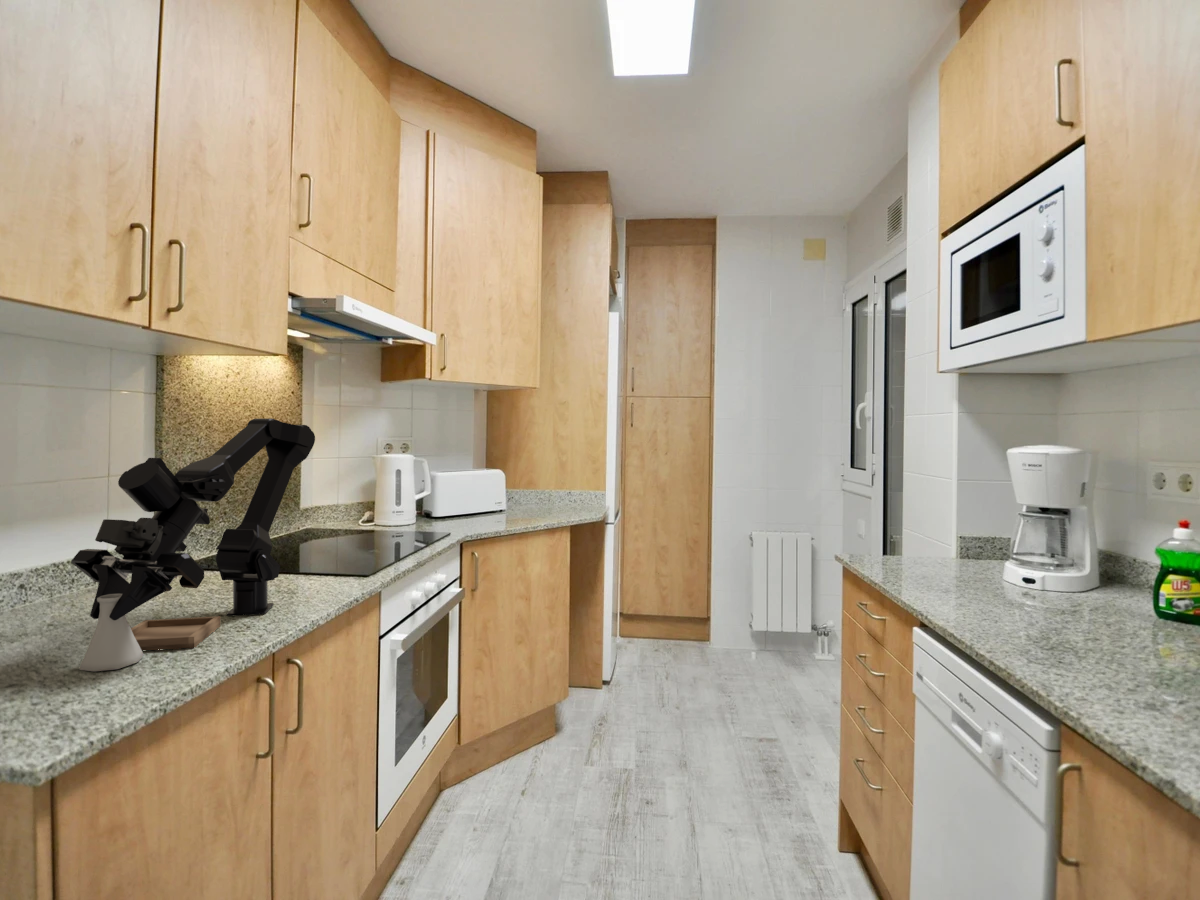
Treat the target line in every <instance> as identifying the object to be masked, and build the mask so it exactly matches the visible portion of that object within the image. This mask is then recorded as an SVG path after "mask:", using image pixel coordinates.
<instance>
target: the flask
mask: <svg viewBox="0 0 1200 900" xmlns="http://www.w3.org/2000/svg"><path fill="white" fill-rule="evenodd" d="M121 596H122V594H120V593H118V594H108V595H103V596H100V597H98V598H97V601H98V602H99V603H100V613H99V618H98V619H97V624H96V626H95V629H94V632H93V634H92V636H91V638H90V641H89V644H88V646H87V649H86V651H85V653H84V656H83V658H82V660H81V662H80V663H79V664H80V665H79V667H78V670H81V671H86V672H87V671H88V672H100V671H101V672H103V671H104V672H105V671H112V670H119V669H121V668H125V667H127V666H131V665H134V664H136V663H139V662H140V661H141V660H142V659H143V658H144V657H145V654H144V651H142V650H141V648H140V646H139V644H138V642H137V640H136V638H135V637H134V635H133V632H132V630H131V628H132V627H131V626H130V624H129V622H128V619H127V614H126V615H124V616H122V617H121V618H119V619H117V620H112V619H111V618H110V617H109V616H110V614H111V612H112V610H113V608H114V606H115V605H116V603H117V602H118V600H119V599H120V597H121Z"/></svg>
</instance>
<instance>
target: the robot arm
mask: <svg viewBox="0 0 1200 900" xmlns="http://www.w3.org/2000/svg"><path fill="white" fill-rule="evenodd" d="M315 441H316V436H315V432H314V431H312V429H311V428H310V426H309V425H307V424H292V423H288V422H283V421H280V420H279V419H275V418H267V417H266V418H265V417H264V418H263V417H262V418H259V417H258V418H257V417H256V418H253V419H251V420H248V422H247V424H246V426H245V427H244V428H242V430H240V431H239V432H238V433H237V434H236V435H234V436H233V437H232V438H231V439H230V440H228V441H227V442H226V443H224V444H223V445H222V446H221V447H219V449H218V450H217V451H215V452H214V453H213V454H211V455H209V456H208V457H206V458H203V459H199V460H197V461H194V462H191V463H189V464H187V465H186V466H184V467H182V468H180V469H179V470H178V471H176V473H175V474H174V473H173V472H172V471H171V470H170V469H169V467H168V466H167V465H166V462H165V461H164V460H163V459H162V458H161V457H148V458H147V459H146V461H145V462H142V463H139V464H136V465H135V466H132V467H131V468H130V469H128V470H126V471H124V472H123V473H122V474H121V475H120V477H119V479H118V483H117V484H118V487H119V488H120V489H121V490H122V491H123V492H124V493H125V494H126V495H128V497H129V498H131V500H133V502H134V503H136V505H138V506H139V508H140V509H141V510H142V511H144V512H145V513H146V512H148V513H153V512H155V513H154V515H153V516H152V517H140V518H138V519H137V521H134V520H127V519H110V518H109V519H103V520H102V523H101V525H100V527H99V530H98V532H97V534H96V537H95V539H94V540H95V541H96V542H99V543H106V544H109V545H113V546H115V548H114V552H116V553H117V554H118V555H121V556H123V557H122V558H119V557H117V556H114V555H113V554H112V553H111V552H110V551H108V549H98V548H97V549H95V548H85V549H80V550H79V551H78V552H77V553H76V554H75V555H74V557H73V558H71V560H70V563H71V564H72V565H73V566H75V567H76V568H77V569H79V570H80V572H82V573H83V574H85V575H86V576H87V577H89V578H90V579H91V580H92V581H93V582H97V583H98V584H97V591H96V593H95V595H94V596H95V597H94V601H93V604H92V607H91V610H90V613H89V617H91V618H92V619H94V620H98V618H99V613H100V603H99V602H98V601H97V598H98V597H100V596H103V595H108V594H118V593H120V594H122V596H121V597H120V599H119V600H118V602H117V603H116V605H115V606H114V608H113V610H112V612H111V614H110V616H109V617H110V618H111V619H112V620H117V619H119V618H121V617H122V616H124V615H126V616H127V614H129V613H130V612H132V611H134V610H135V609H137V608H139V607H140V606H142V605H143V604H145V603H147V602H149V601H150V600H152V599H154V598H156V597H157V596H159V595H162V594H163V593H165V592H170V591H171V590H172V589H173V587H172V585H171V584H172V582H173V581H174V580H175V579H177V578H178V577H180V579H179V580H178V582H179V586H181V588H186V589H187V588H188V589H198V588H199V586H201V583H202V582H203V580H204V579H205V569H204V568H203V567H202V566H201V565H200V564H199V563H198V562H197V561H196V559H194V558H193V557H192V556H191V555H190V554H188V553H186V552H184V551H185V550H186V549H187V548H188V546H187V545H186V544H185V543H184V541H185V539H186V538H187V537H188V536H189V534H190V533H191V531H192V530H193V529H194V527H195V525H210V524H211V523H210V522H211V520H210V519H211V518H210V515H209V514H208V508H207V507H201V505H199V504H198V503H197V502H203V503H204V502H209V503H210V502H212V503H214V502H216V503H217V502H219V501H221V500H222V499H223V498H224V497H225V496H226V494H227V493H228V492H229V491H230V490H231V488H232V487H233V485H234V484H235V475H236V474H237V472H239V471H240V470H242V468H243V467H244V466H245V465H246V464H247V463H248V462H250V460H252V459H253V458H254V457H255V456H256V455H257V454H258V453H259V452H261V450H262V449H264V448H265V451H266V455H267V458H268V459H267V462H266V465H265V467H264V470H263V472H262V475H261V477H260V479H259V481H258V483H257V486H256V489H255V490H254V493H253V495H252V498H251V500H250V502H249V505H248V507H247V509H246V511H245V514H244V517H243V519H242V521H241V523H240V524H239V525H238V526H237V527H236V528H226V529H225V530H224V531H223V534H222V537H221V540H220V542H219V544H218V545H217V546H216V548H215V549H216V550H217V551H216V553H215V554H216V555H215V563H216V566H217V569H218V571H219V575H220V579H221V580H222V581H232V588H233V589H232V591H233V592H232V596H233V597H232V598H233V599H232V600H233V601H232V603H233V605H232V606H233V607H232V609H230V610H228V612H226V617H232V616H233V617H235V616H254V615H258V616H259V615H265V614H266V613H268V611H269V610H270V609H272V608H273V607H274V603H273V602H268V599H269V598H268V582H269V581H274V580H275V579H277V578H278V577H279V575H280V570H281V565H280V564H279V563H278V562H277V561H276V559H275V558H274V557H273V556H272V554H271V552H272V549H273V544H272V539H271V536H270V530H271V528H272V525H273V523H274V520H275V517H276V515H277V513H278V510H279V508H280V505H281V503H282V502H281V501H282V499H283V497H284V496H285V495H284V494H285V491H286V489H287V487H288V484H289V483H290V479H291V476H292V475H293V471H294V469H295V468H296V467H297V466H298V465H300V464H301V463H303V461H305V460H306V459H307V458H308V457H309V455H310V453H311V451H312V449H313V447H314V446H315ZM183 552H184V553H183ZM129 574H131V576H130V578H131V579H130V583H129V582H128V581H127V579H128V575H129Z"/></svg>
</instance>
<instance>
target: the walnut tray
mask: <svg viewBox="0 0 1200 900" xmlns="http://www.w3.org/2000/svg"><path fill="white" fill-rule="evenodd" d="M221 625H222V624H221V616H219V615H218V616H216V615H215V616H202V617H201V616H200V617H179V618H178V617H177V618H162V619H159V618H157V619H144V620H142V622H139V623H138V624H136V625H134V626H133V627H130V628H131V630H132V632H133V635H134V637H135V638H136V640H137V642H138V644H139V646H140V648H141V650H157V651H161V650H160V649H173V650H182V649H181V648H189V649H195V648H197V647H198V646H199V645H200V644H201V643H203V642H204V641H205V640H206V639H207V638H209V637H210V636H211V635H212V634H213V633H214V632H216V631H217V630H218V629H219V628H221ZM217 628H218V629H217ZM216 629H217V630H216ZM215 630H216V631H215ZM212 632H213V633H212ZM211 633H212V634H211ZM210 634H211V635H210ZM209 635H210V636H209ZM206 637H207V638H206ZM205 638H206V639H205ZM204 639H205V640H204ZM203 640H204V641H203ZM200 642H201V643H200ZM199 643H200V644H199ZM198 644H199V645H198ZM197 645H198V646H197ZM194 647H195V648H194ZM179 648H180V649H179ZM158 649H159V650H158Z"/></svg>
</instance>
